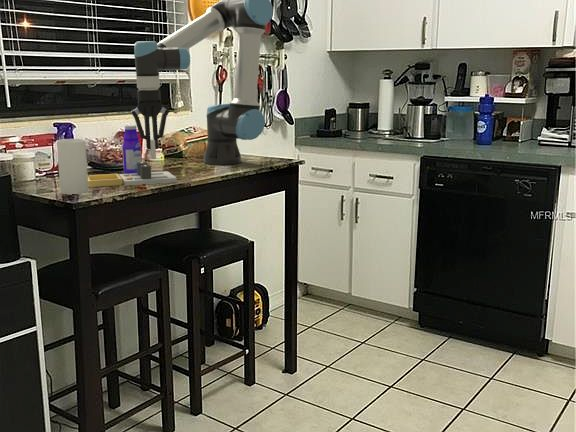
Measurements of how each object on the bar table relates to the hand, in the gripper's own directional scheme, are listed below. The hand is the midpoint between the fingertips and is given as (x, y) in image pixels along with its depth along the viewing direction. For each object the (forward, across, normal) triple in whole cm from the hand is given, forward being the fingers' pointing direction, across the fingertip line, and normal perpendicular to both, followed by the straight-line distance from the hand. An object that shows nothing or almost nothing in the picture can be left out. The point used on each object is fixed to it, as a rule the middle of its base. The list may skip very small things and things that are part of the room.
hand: (153, 158), depth 216 cm
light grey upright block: (+6, +28, +16) cm, 32 cm away
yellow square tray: (+6, +18, +4) cm, 19 cm away
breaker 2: (+5, +4, +8) cm, 10 cm away
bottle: (+7, +6, -11) cm, 14 cm away
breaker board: (+7, +3, +4) cm, 8 cm away
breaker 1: (+5, +4, +1) cm, 7 cm away
